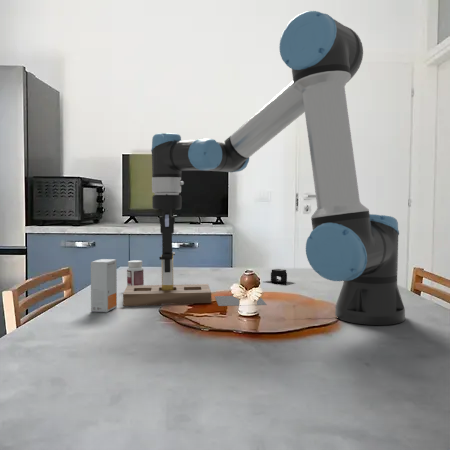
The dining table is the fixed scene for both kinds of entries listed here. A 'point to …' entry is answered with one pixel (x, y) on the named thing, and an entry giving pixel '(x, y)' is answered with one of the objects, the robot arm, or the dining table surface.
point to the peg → (167, 287)
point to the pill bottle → (135, 273)
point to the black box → (281, 274)
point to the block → (166, 294)
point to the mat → (233, 301)
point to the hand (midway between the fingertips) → (167, 282)
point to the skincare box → (103, 285)
